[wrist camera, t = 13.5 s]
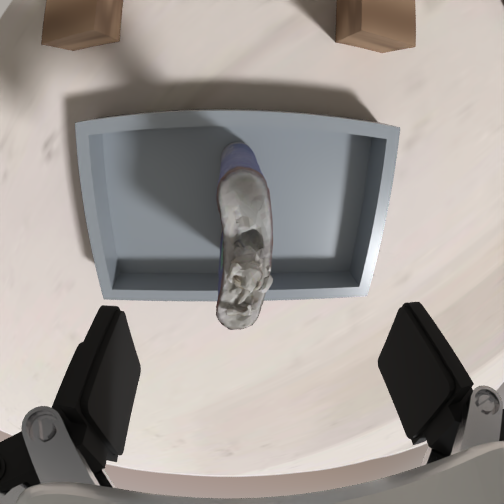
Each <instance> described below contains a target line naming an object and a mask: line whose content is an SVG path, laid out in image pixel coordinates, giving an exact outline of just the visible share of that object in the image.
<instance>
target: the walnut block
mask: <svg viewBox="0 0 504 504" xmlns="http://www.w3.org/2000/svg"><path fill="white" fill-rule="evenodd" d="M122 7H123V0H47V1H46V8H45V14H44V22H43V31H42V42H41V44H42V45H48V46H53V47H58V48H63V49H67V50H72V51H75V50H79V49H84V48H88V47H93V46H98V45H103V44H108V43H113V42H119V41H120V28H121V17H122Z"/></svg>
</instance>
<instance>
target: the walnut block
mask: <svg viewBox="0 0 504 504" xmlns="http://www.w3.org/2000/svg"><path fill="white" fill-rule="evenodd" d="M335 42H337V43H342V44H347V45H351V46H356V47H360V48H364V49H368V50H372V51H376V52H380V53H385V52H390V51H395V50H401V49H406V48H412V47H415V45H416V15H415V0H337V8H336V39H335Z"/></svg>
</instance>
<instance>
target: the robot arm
mask: <svg viewBox="0 0 504 504" xmlns="http://www.w3.org/2000/svg"><path fill="white" fill-rule="evenodd" d="M378 367H379V369H380V372H381V374H382V376H383V379H384V381H385V383H386V386H387V388H388V391H389V393H390V395H391V398H392V400H393V403H394V405H395V408H396V410H397V413H398V415H399V418H400V420H401V423H402V425H403V428H404V430H405V433H406V435H407V437H408V438H409V439H411V440H412V443H413V445H415V444H418V443H421V442H424V441H426V440H427V443H428V448H427V451H426V454H425V456H424V459H423V461H422V464H421V466H420V467H418V468H415V469H412V470H409V471H405V472H402V473H399V474H396V475H392V476H389V477H385V478H381V479H378V480H374V481H370V482H366V483H361V484H357V485H352V486H348V487H343V488H337V489H333V490H327V491H320V492H313V493H306V494H299V495H290V496H278V497H264V498H243V499H242V498H241V499H218V498H215V499H214V498H192V497H178V496H168V495H158V494H150V493H142V492H136V491H129V490H123V489H117V488H115V486H114V484H113V483H112V481H111V480H110V478H109V477H108V475H107V473H106V472H105V470H104V468H105V465H106V460H109V461H114V462H117V458H118V455H122V454H123V451H124V446H125V441H126V436H127V431H128V426H129V421H130V416H131V412H132V407H133V403H134V398H135V394H136V390H137V385H138V381H139V377H140V372H141V367H140V363H139V359H138V356H137V353H136V350H135V347H134V343H133V340H132V337H131V333H130V330H129V326H128V323H127V319H126V315H125V313H124V311H120V309H119V307H117V306H103V305H102V306H101V307H100V308H99V310H98V312H97V314H96V316H95V318H94V321H93V323H92V325H91V327H90V329H89V331H88V333H87V335H86V337H85V340H84V342H81V343H80V344H79V345H78V347H77V349H76V351H75V353H74V355H73V358H72V360H71V362H70V364H69V367H68V369H67V371H66V374H65V376H64V378H63V381H62V383H61V386H60V388H59V390H58V393H57V395H56V398H55V401H54V403H53V406H52V408H50V407H48V406H40V407H36V408H34V409H32V410H31V411H29V412H28V413H27V414H26V416H25V417H24V419H23V421H22V431H21V432H19V433H18V434H16V435H14V436H12V437H10V438H8V439H6V440H4V441H2V442H0V504H504V409H503V404H502V400H501V397H500V396H499V394H498V393H497V392H496V391H495V390H494V389H492V388H490V387H488V386H479V387H477V388H475V389H474V390H472V388H471V387H472V386H473V384H474V383H473V382H472V380H471V378H470V377H469V375H468V373H467V372H466V370H465V369H464V367H463V365H462V364H461V362H460V360H459V359H458V357H457V356H456V354H455V353H454V351H453V349H452V348H451V346H450V345H449V343H448V342H447V340H446V339H445V337H444V336H443V334H442V333H441V331H440V330H439V328H438V327H437V325H436V324H435V323H434V321H433V320H432V318H431V317H430V315H429V314H428V312H427V311H426V310H425V308H424V307H423V305H422V304H421V303H420V302H410V303H404V304H403V306H402V307H401V308H399V310H398V312H397V315H396V317H395V320H394V322H393V325H392V327H391V330H390V332H389V335H388V337H387V340H386V342H385V344H384V347H383V349H382V351H381V354H380V356H379V358H378Z"/></svg>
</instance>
